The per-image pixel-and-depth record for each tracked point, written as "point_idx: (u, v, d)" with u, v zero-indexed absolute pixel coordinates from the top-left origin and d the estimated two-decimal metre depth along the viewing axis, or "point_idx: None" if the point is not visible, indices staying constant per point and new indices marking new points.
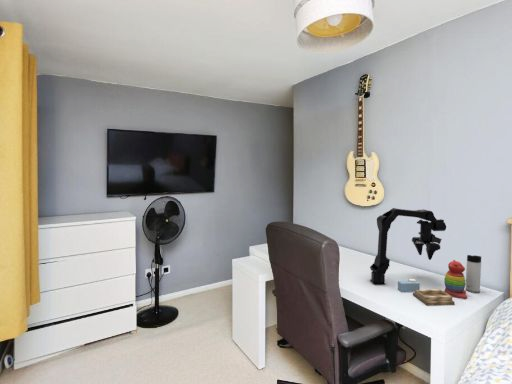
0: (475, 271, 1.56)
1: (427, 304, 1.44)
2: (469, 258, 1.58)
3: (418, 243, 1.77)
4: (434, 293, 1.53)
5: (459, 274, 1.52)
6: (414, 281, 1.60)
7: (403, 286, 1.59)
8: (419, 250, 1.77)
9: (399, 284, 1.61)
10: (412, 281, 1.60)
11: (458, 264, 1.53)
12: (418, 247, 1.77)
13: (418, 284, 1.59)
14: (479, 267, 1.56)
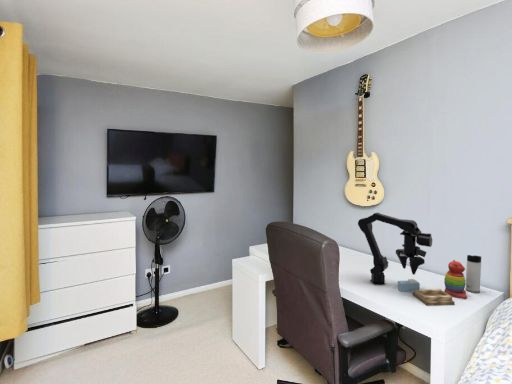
0: (475, 271, 1.56)
1: (427, 304, 1.44)
2: (469, 258, 1.58)
3: (402, 256, 1.65)
4: (434, 293, 1.53)
5: (459, 274, 1.52)
6: (414, 281, 1.60)
7: (403, 286, 1.59)
8: (403, 263, 1.65)
9: (399, 284, 1.61)
10: (412, 281, 1.60)
11: (458, 264, 1.53)
12: (402, 260, 1.65)
13: (418, 284, 1.59)
14: (479, 267, 1.56)
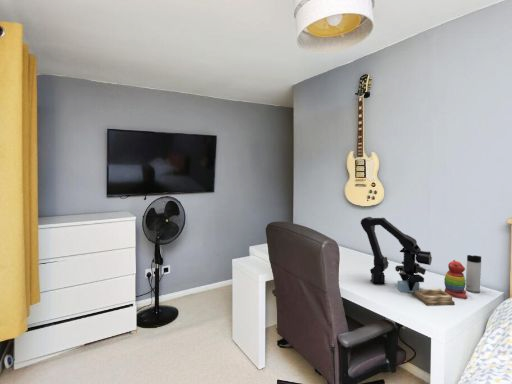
0: (475, 271, 1.56)
1: (427, 304, 1.44)
2: (469, 258, 1.58)
3: (404, 274, 1.64)
4: (434, 293, 1.53)
5: (459, 274, 1.52)
6: None
7: (402, 286, 1.59)
8: None
9: (399, 284, 1.62)
10: None
11: (458, 264, 1.53)
12: (404, 278, 1.64)
13: (418, 284, 1.59)
14: (479, 267, 1.56)
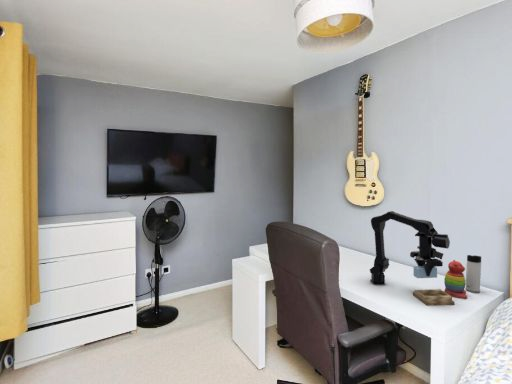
0: (475, 271, 1.56)
1: (427, 304, 1.44)
2: (469, 258, 1.58)
3: (420, 260, 1.55)
4: (434, 293, 1.53)
5: (459, 274, 1.52)
6: None
7: (419, 272, 1.51)
8: None
9: (415, 270, 1.53)
10: None
11: (458, 264, 1.53)
12: (420, 264, 1.55)
13: (435, 269, 1.51)
14: (479, 267, 1.56)
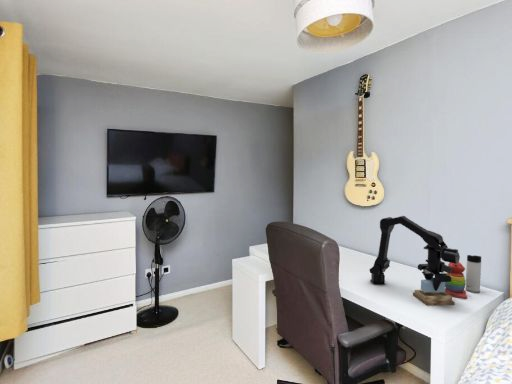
0: (475, 271, 1.56)
1: (427, 304, 1.44)
2: (469, 258, 1.58)
3: (428, 273, 1.52)
4: (434, 293, 1.53)
5: (459, 274, 1.52)
6: None
7: (427, 286, 1.47)
8: None
9: (422, 283, 1.49)
10: None
11: (458, 264, 1.53)
12: (428, 278, 1.51)
13: (444, 283, 1.47)
14: (479, 267, 1.56)
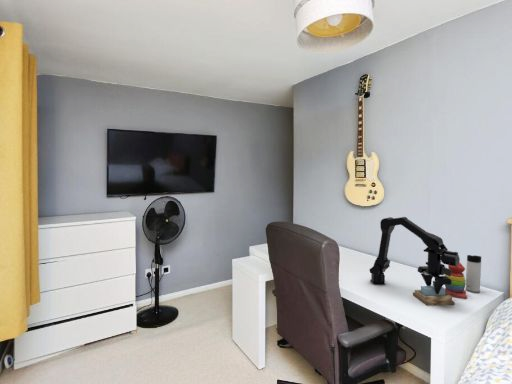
0: (475, 271, 1.56)
1: (427, 304, 1.44)
2: (469, 258, 1.58)
3: (427, 275, 1.53)
4: None
5: (459, 274, 1.52)
6: None
7: (427, 292, 1.47)
8: (428, 283, 1.52)
9: (422, 290, 1.50)
10: None
11: None
12: (427, 280, 1.52)
13: (443, 290, 1.47)
14: (479, 267, 1.56)
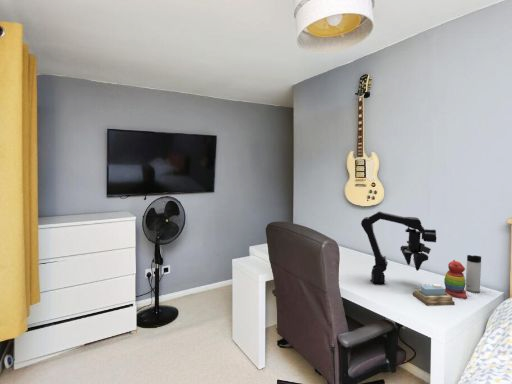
0: (475, 271, 1.56)
1: (427, 304, 1.44)
2: (469, 258, 1.58)
3: (406, 252, 1.69)
4: None
5: (459, 274, 1.52)
6: (439, 287, 1.48)
7: (427, 292, 1.47)
8: (407, 260, 1.68)
9: (422, 290, 1.50)
10: (437, 287, 1.48)
11: (458, 264, 1.53)
12: (406, 256, 1.68)
13: (443, 290, 1.47)
14: (479, 267, 1.56)
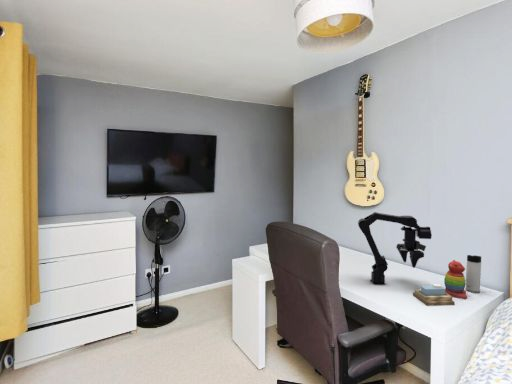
0: (475, 271, 1.56)
1: (427, 304, 1.44)
2: (469, 258, 1.58)
3: (402, 250, 1.72)
4: None
5: (459, 274, 1.52)
6: (439, 287, 1.48)
7: (427, 292, 1.47)
8: (403, 257, 1.72)
9: (422, 290, 1.50)
10: (437, 287, 1.48)
11: (458, 264, 1.53)
12: (402, 254, 1.72)
13: (443, 290, 1.47)
14: (479, 267, 1.56)
